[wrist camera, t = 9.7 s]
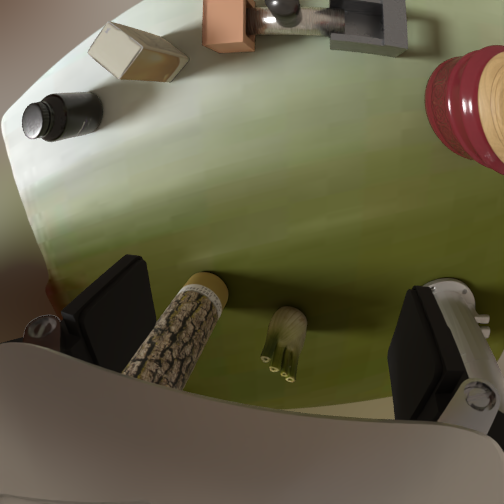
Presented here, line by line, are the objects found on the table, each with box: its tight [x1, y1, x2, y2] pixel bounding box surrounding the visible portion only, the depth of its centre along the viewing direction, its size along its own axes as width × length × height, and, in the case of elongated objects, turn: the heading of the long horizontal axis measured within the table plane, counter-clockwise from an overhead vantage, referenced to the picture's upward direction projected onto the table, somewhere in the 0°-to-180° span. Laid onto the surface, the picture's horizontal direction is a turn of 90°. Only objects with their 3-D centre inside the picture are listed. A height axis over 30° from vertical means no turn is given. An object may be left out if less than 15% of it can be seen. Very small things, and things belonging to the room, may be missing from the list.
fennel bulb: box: [261, 306, 307, 382], centre depth 42 cm, size 6×5×12 cm
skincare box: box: [88, 21, 189, 82], centre depth 30 cm, size 6×4×12 cm
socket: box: [202, 0, 255, 53], centre depth 29 cm, size 4×7×6 cm, turn 179°
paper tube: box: [121, 272, 228, 391], centre depth 38 cm, size 7×7×25 cm
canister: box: [425, 45, 504, 175], centre depth 21 cm, size 13×13×18 cm
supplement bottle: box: [22, 92, 103, 142], centre depth 35 cm, size 7×7×12 cm
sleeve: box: [329, 0, 408, 58], centre depth 26 cm, size 8×6×6 cm
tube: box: [246, 0, 345, 36], centre depth 25 cm, size 12×4×10 cm, turn 89°
